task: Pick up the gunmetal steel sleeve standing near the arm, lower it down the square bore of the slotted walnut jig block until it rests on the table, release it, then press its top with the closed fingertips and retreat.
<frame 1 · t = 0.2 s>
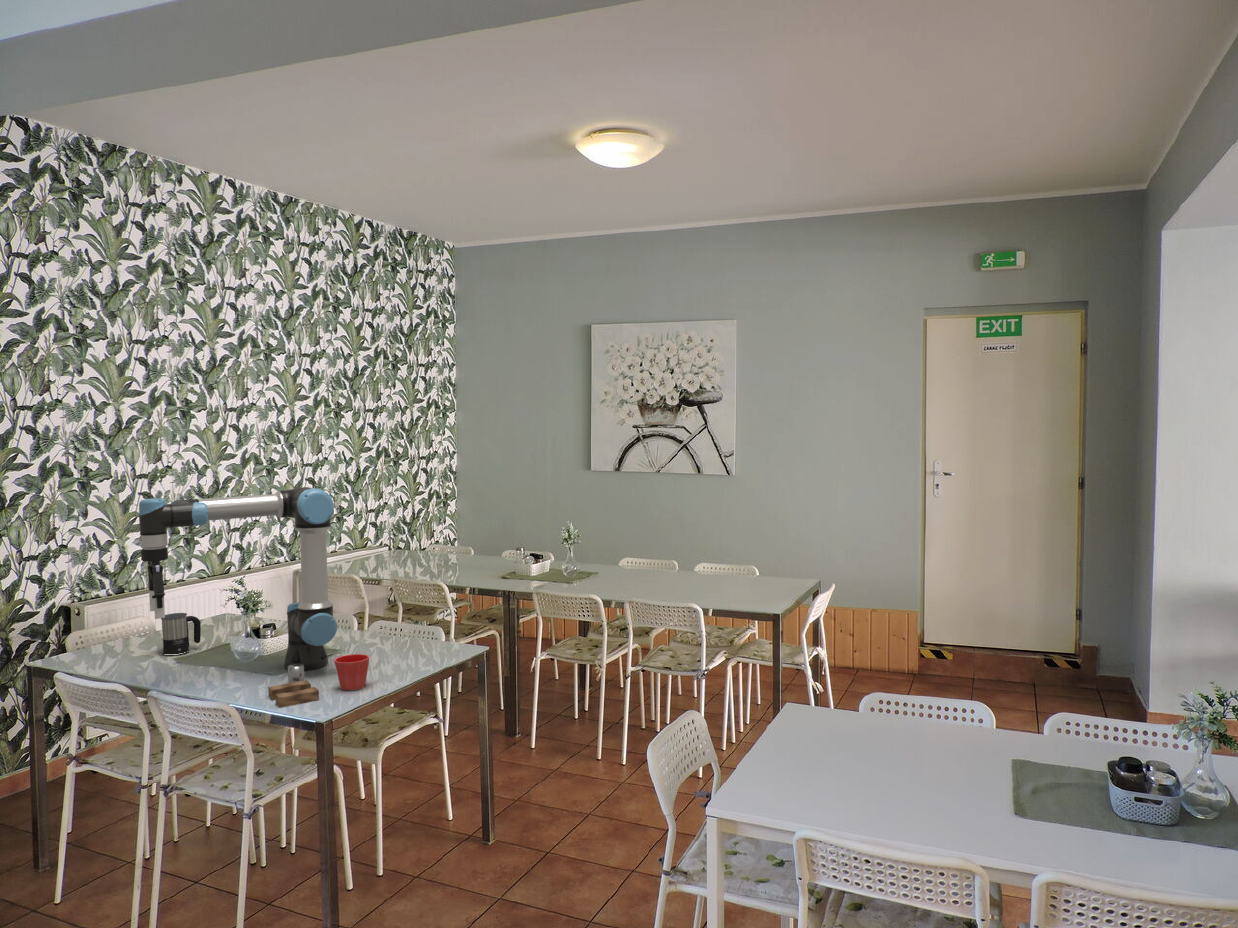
hand: (157, 614, 280), 28 cm above the table, fingers open, 13 cm apart
bushing: (296, 686, 294), on the table
jig: (293, 697, 282), on the table
milk frother: (176, 651, 344), on the table
flower pot: (352, 687, 293), on the table
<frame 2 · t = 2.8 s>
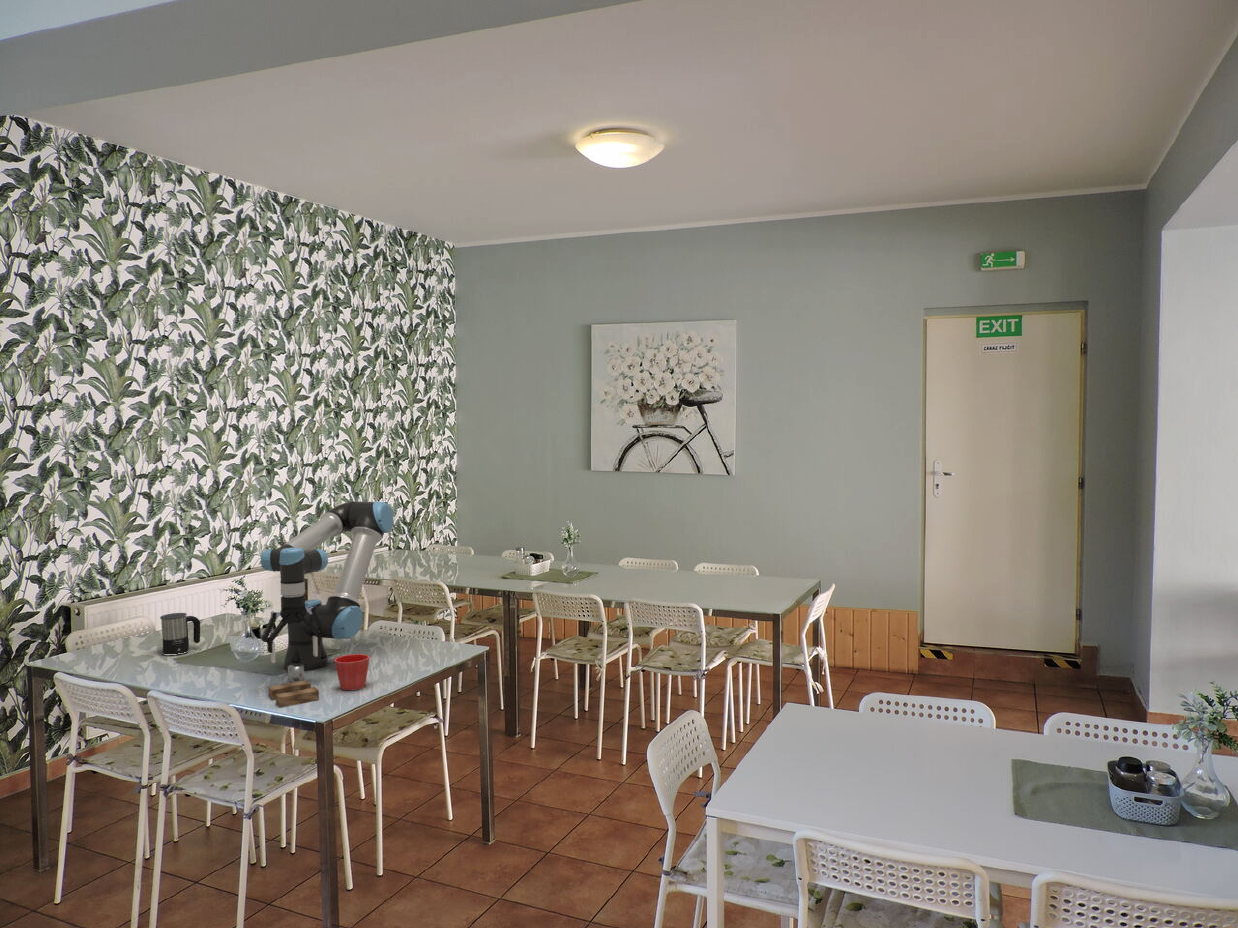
hand: (294, 658, 293), 9 cm above the table, fingers open, 13 cm apart
nothing on the table moved.
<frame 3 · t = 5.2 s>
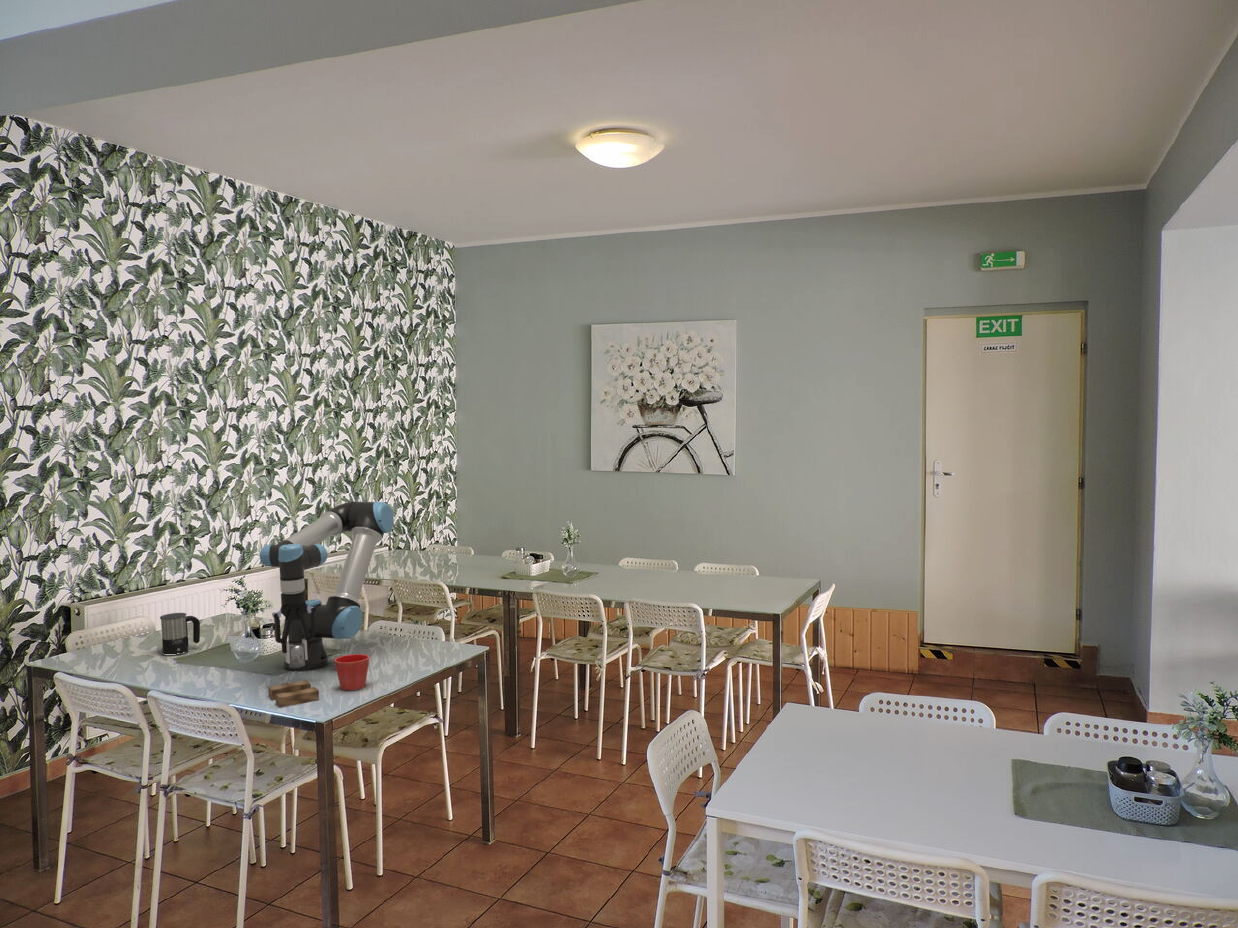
hand: (296, 660, 294), 9 cm above the table, fingers closed on bushing, 5 cm apart
bushing: (297, 665, 294), point 7 cm above the table, touching gripper
everything else where it was.
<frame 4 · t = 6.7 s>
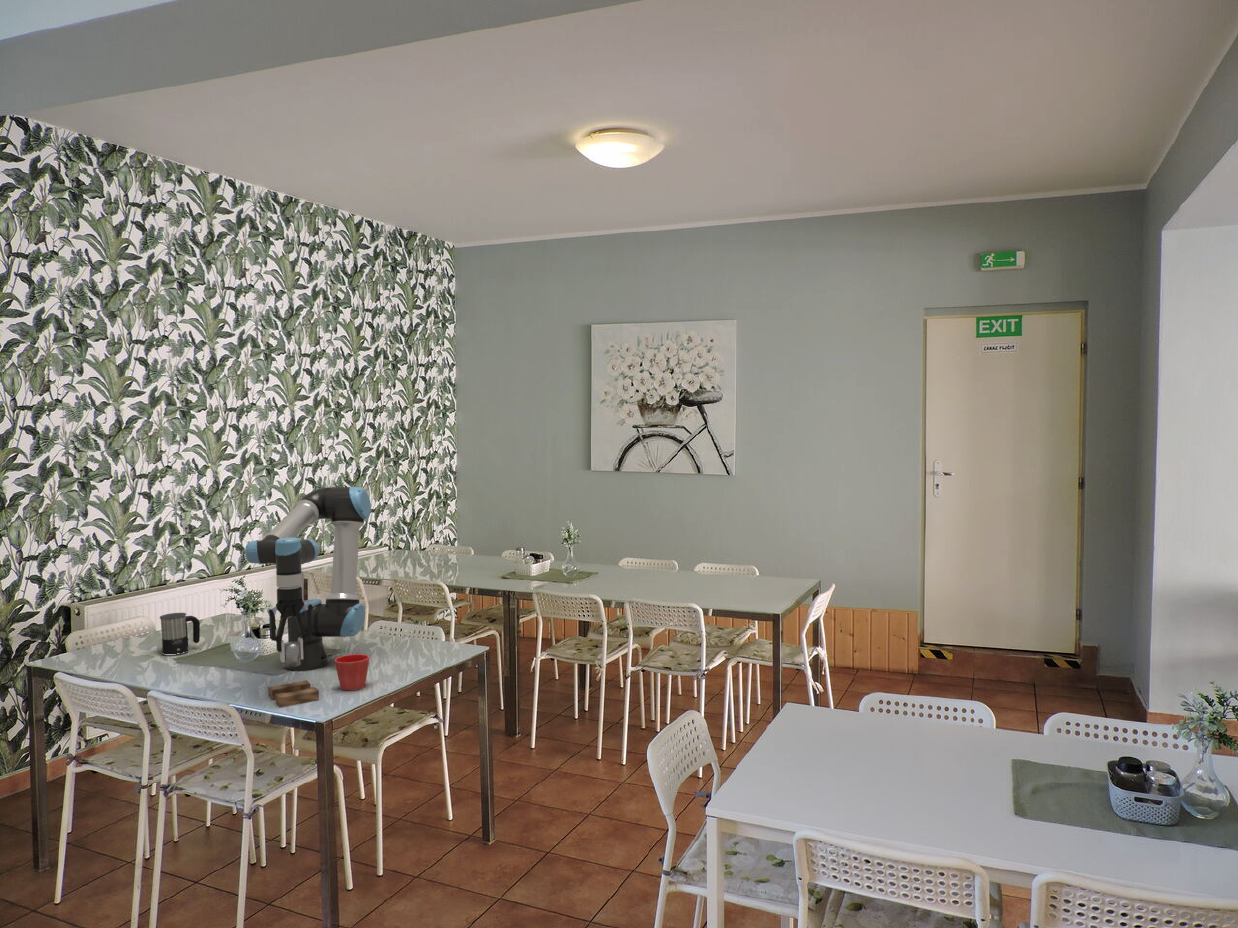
hand: (291, 659, 281), 12 cm above the table, fingers closed on bushing, 5 cm apart
bushing: (292, 665, 281), point 11 cm above the table, touching gripper
everything else where it was.
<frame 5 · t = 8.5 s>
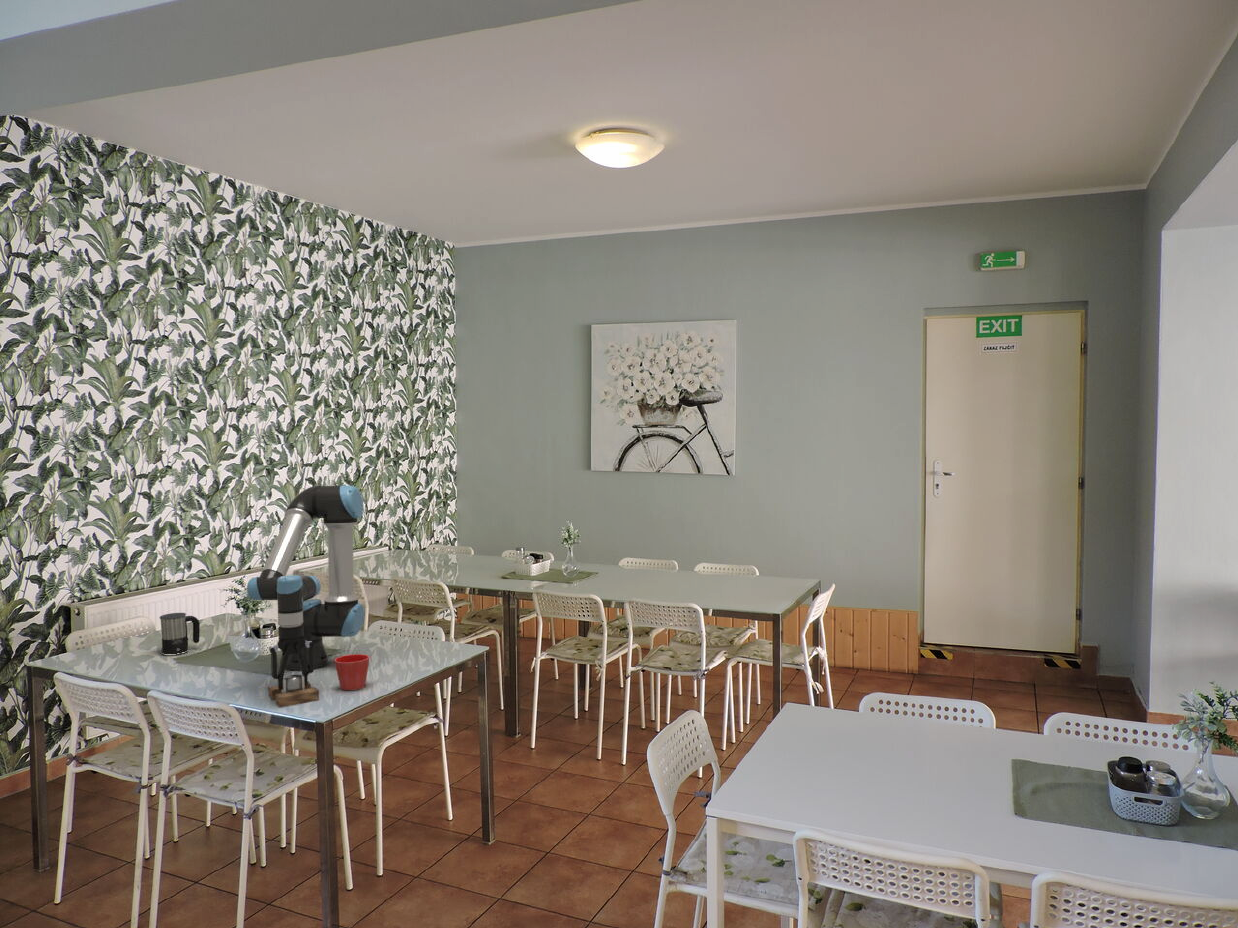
hand: (293, 697, 282), 0 cm above the table, fingers closed on bushing, 5 cm apart
bushing: (293, 698, 282), on the table, touching gripper
everything else where it was.
when the fingers open (0 cm above the table, at t = 8.9 s): bushing stays where it is, on the table.
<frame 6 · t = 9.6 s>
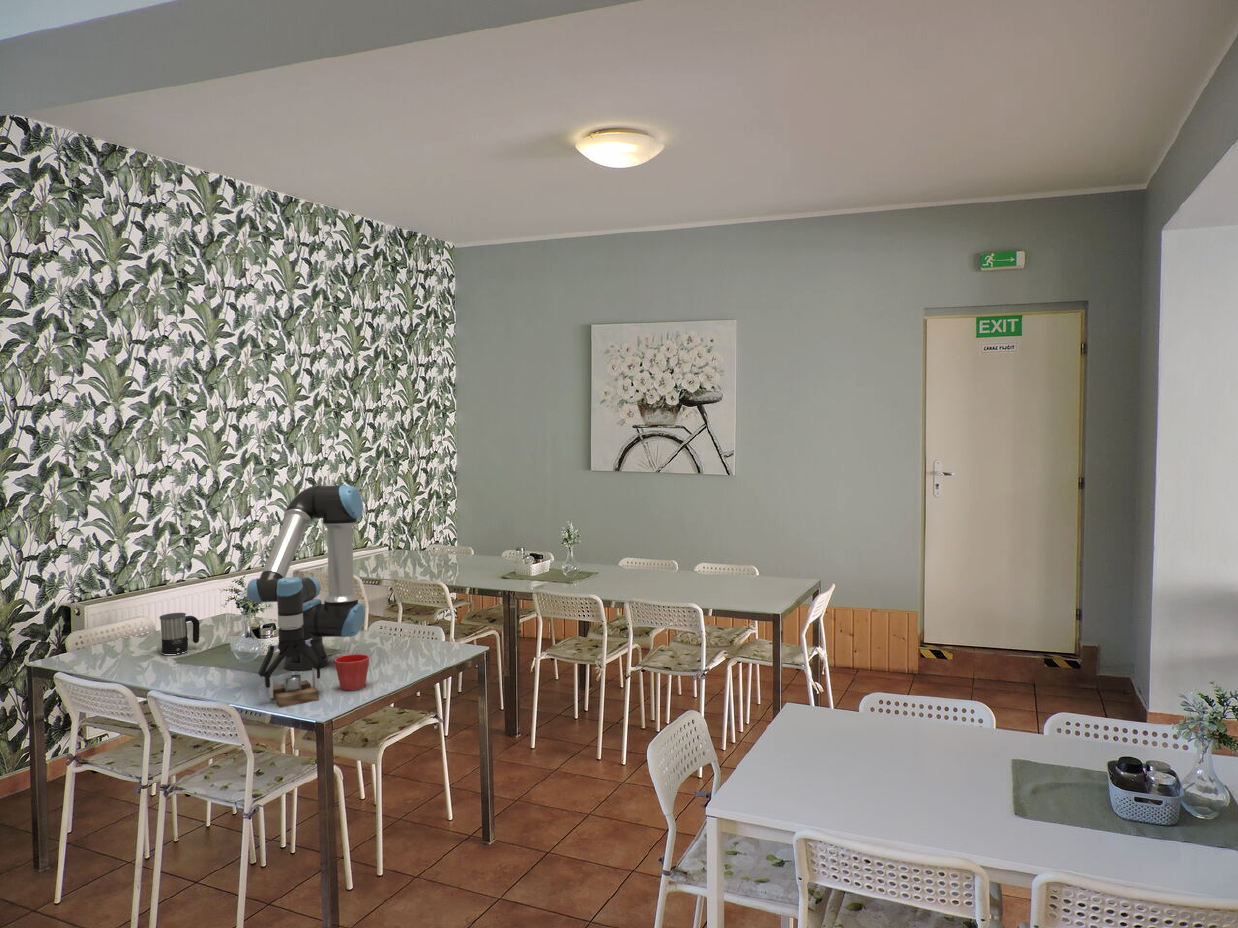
hand: (293, 692, 282), 2 cm above the table, fingers open, 13 cm apart
bushing: (293, 698, 282), on the table
everything else where it was.
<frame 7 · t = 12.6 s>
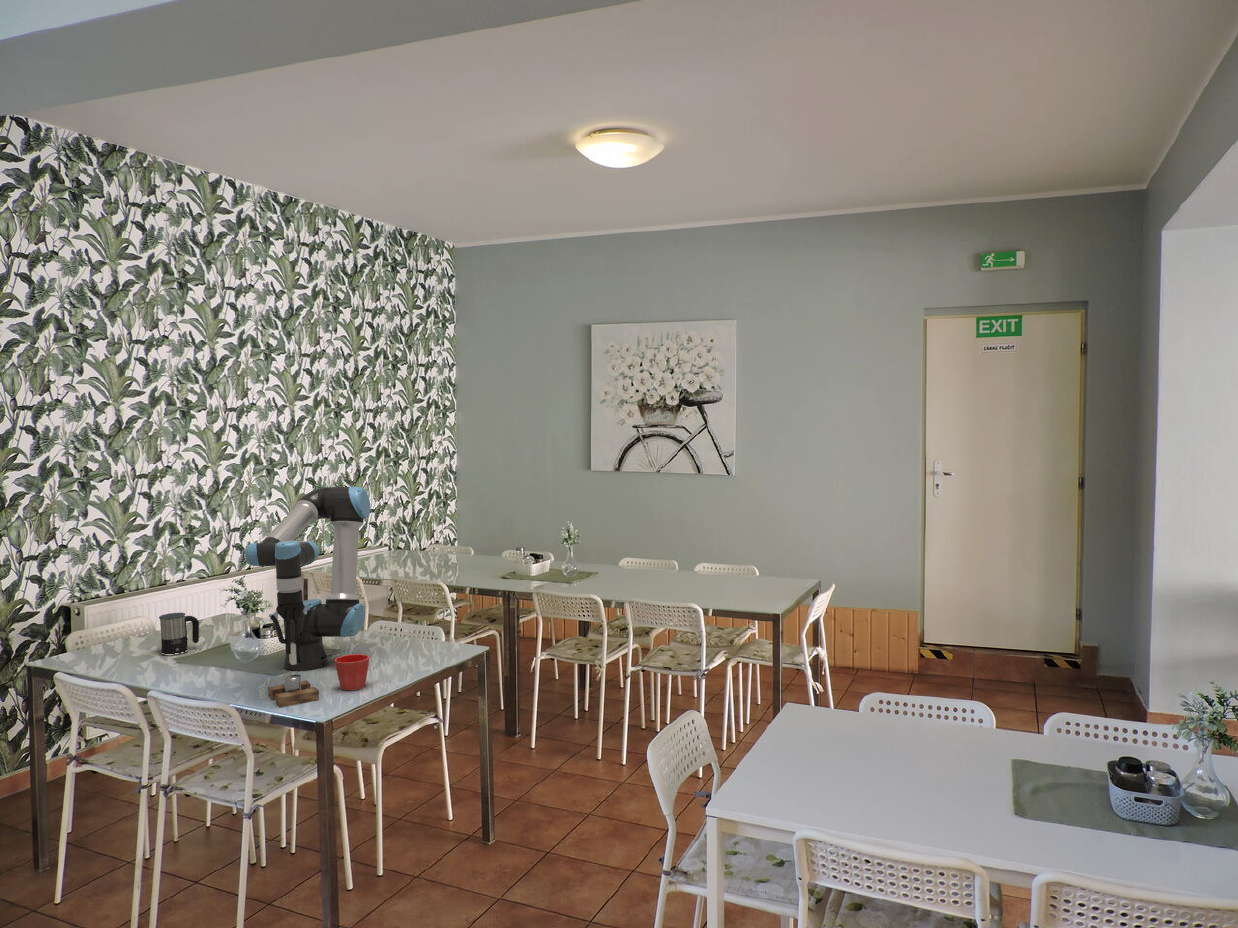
hand: (293, 663, 282), 11 cm above the table, fingers closed
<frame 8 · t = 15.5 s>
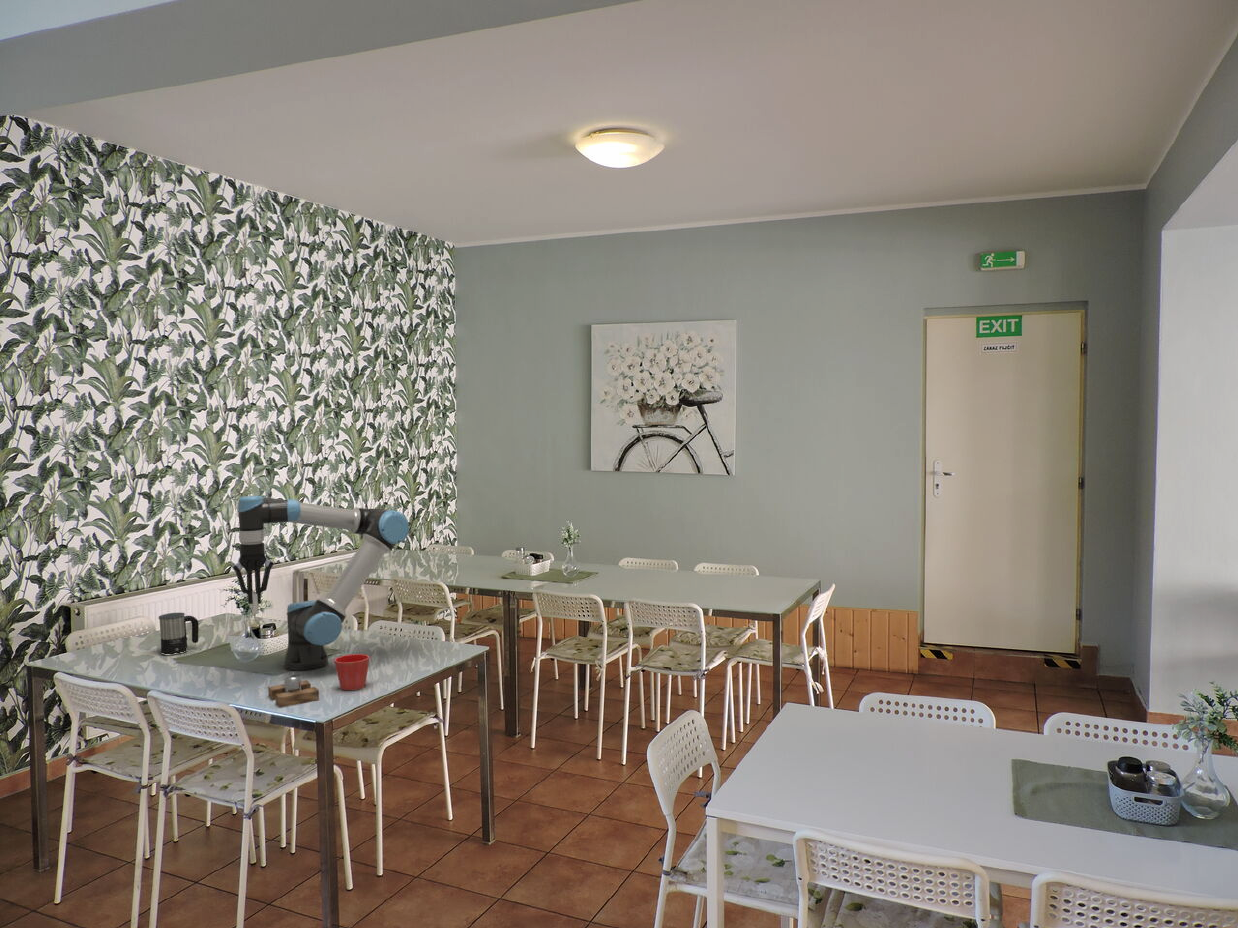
hand: (254, 612, 295), 24 cm above the table, fingers closed
at the end: bushing 0.4 cm off-centre on the jig, point 0.0 cm above the jig's base; bushing tilted 0°; the gripper is holding nothing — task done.
